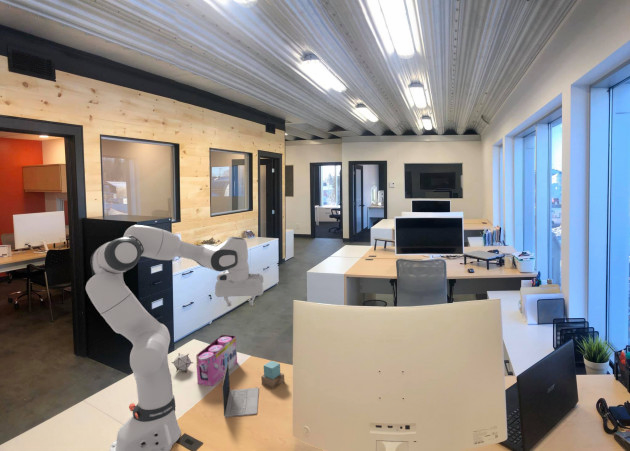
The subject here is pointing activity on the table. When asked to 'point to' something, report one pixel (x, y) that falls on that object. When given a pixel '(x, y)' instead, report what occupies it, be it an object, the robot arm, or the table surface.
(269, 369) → the teal cube
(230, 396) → the laptop
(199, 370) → the gum box
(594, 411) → the table surface
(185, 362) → the grey spiked polyhedron
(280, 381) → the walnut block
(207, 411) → the table surface
